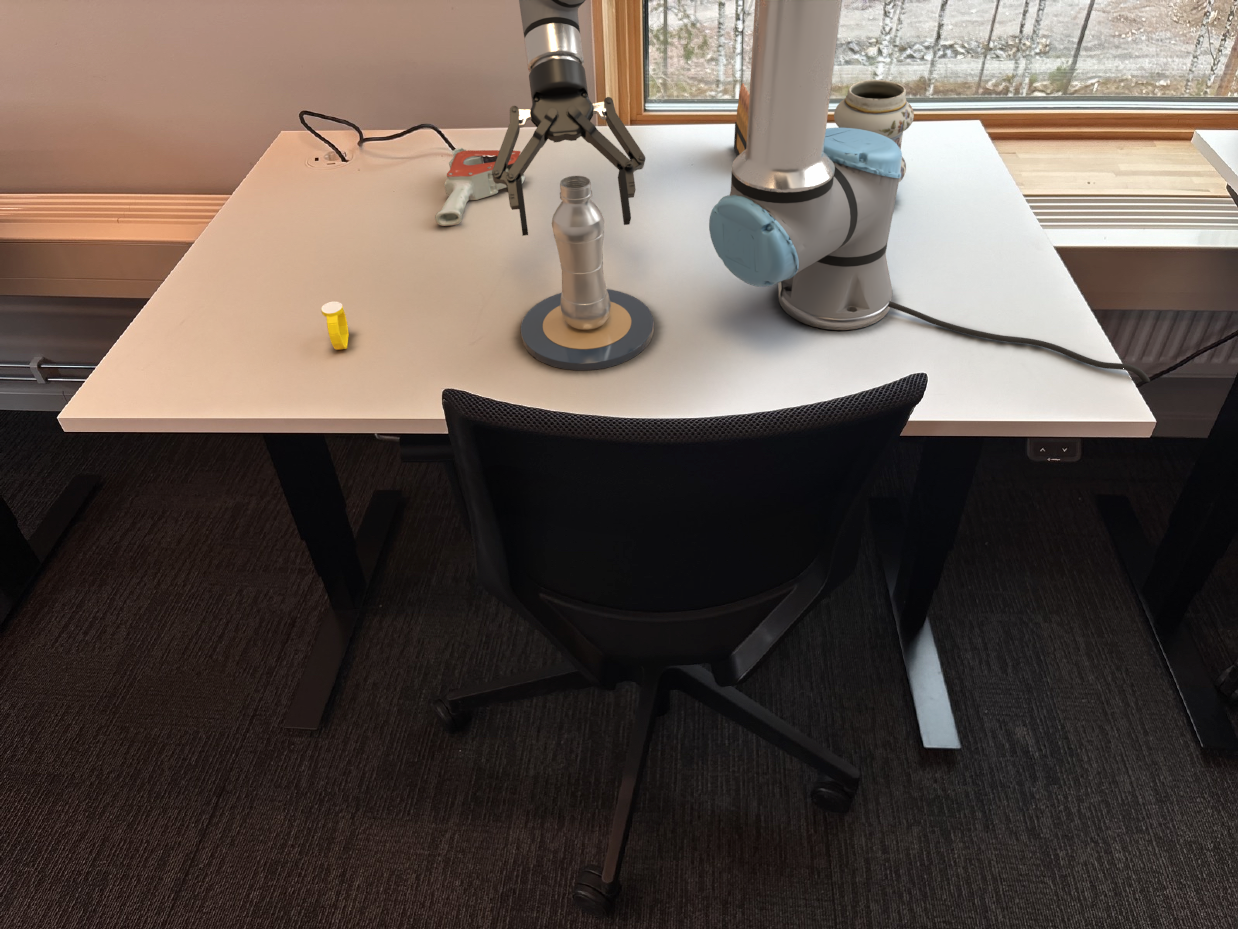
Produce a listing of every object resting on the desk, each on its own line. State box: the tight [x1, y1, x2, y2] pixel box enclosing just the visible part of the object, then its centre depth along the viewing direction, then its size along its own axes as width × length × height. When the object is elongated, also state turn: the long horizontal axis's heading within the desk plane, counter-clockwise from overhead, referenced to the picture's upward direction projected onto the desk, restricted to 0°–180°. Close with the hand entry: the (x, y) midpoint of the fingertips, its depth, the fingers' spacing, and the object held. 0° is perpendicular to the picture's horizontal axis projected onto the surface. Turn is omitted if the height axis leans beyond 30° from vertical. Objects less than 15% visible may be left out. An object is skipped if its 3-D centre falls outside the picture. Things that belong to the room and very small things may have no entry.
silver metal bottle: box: [551, 175, 611, 330], centre depth 114 cm, size 6×7×20 cm
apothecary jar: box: [833, 79, 915, 183], centre depth 140 cm, size 12×12×18 cm
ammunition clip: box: [733, 82, 750, 157], centre depth 155 cm, size 11×2×12 cm, turn 6°
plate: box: [520, 288, 655, 371], centre depth 121 cm, size 18×18×1 cm
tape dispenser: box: [434, 147, 526, 227], centre depth 152 cm, size 18×5×20 cm
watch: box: [320, 301, 350, 351], centre depth 120 cm, size 6×3×6 cm, turn 7°
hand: (576, 227), depth 118 cm, fingers open, 13 cm apart
